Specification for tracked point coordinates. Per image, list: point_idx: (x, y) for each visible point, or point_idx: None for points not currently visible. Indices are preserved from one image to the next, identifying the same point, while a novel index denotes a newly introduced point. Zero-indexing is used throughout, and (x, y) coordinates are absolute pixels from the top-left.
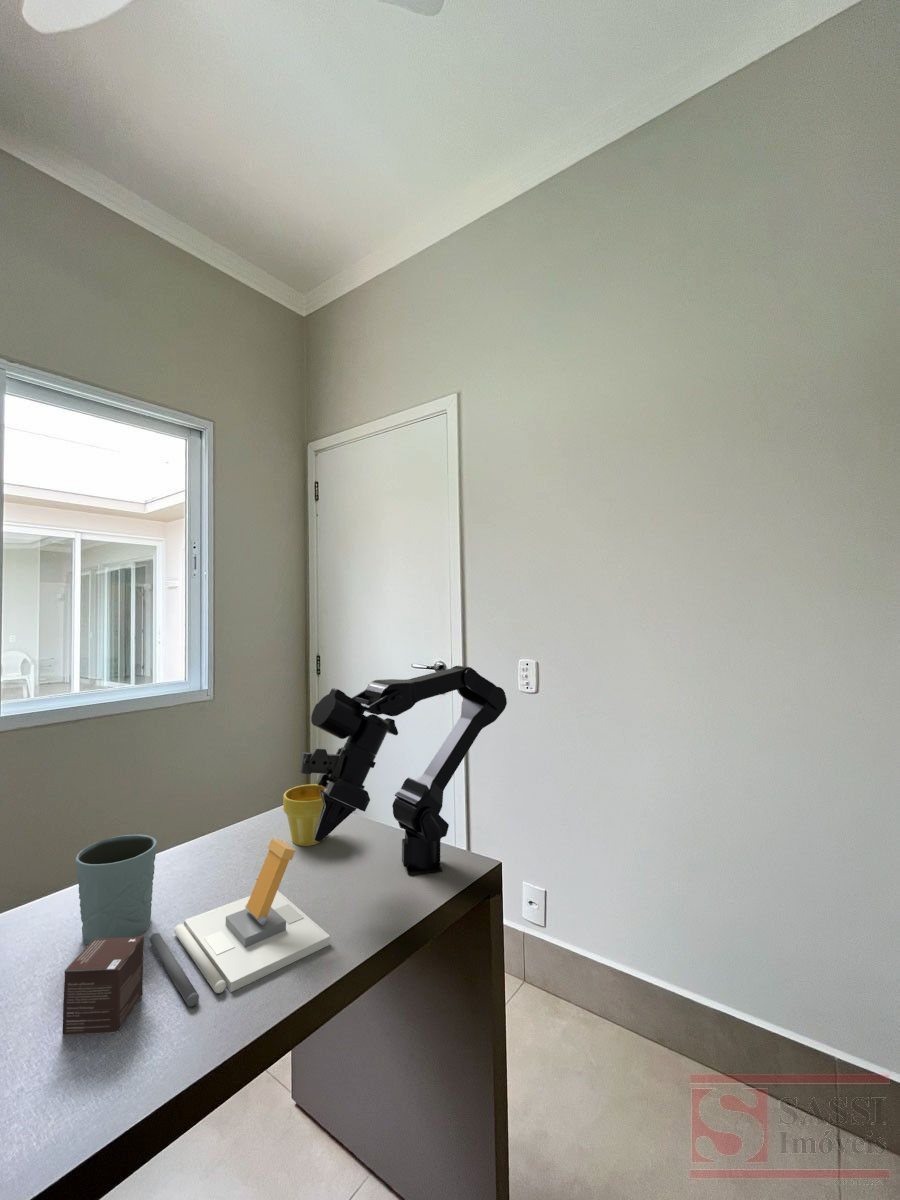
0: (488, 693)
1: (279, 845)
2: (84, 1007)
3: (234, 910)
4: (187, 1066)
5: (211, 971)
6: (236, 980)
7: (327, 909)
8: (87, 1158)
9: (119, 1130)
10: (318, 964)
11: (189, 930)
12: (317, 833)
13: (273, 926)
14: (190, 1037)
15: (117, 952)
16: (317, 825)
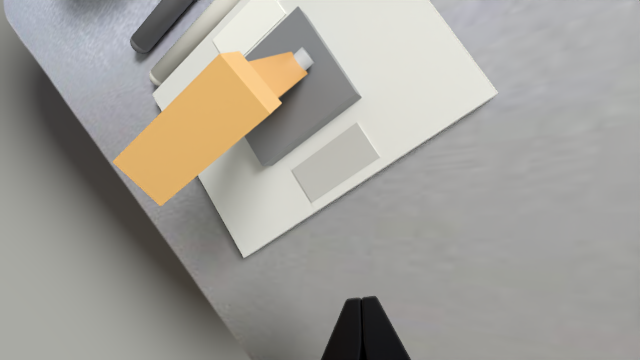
0: None
1: (150, 123)
2: None
3: (371, 11)
4: (76, 84)
5: (170, 50)
6: (156, 101)
7: (381, 254)
8: (16, 33)
9: (31, 48)
10: (208, 230)
11: None
12: (333, 331)
13: (246, 139)
14: (106, 69)
15: None
16: (404, 356)
